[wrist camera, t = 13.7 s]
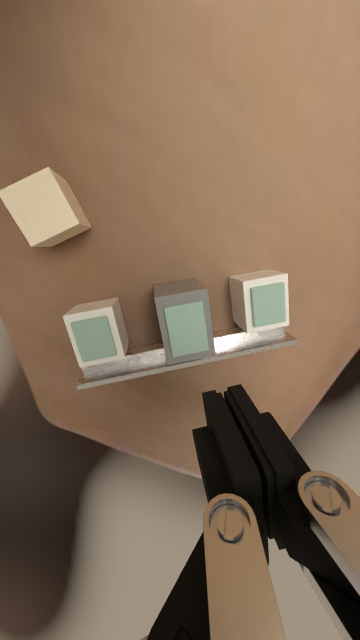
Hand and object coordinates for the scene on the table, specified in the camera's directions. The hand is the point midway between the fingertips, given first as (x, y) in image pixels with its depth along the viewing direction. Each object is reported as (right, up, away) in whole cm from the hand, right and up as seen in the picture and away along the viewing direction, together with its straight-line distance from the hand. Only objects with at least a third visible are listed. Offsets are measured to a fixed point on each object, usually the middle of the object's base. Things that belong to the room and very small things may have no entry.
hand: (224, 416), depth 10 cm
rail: (-1, +1, +22) cm, 22 cm away
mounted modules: (-2, +5, +21) cm, 21 cm away
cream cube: (-15, +16, +16) cm, 27 cm away
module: (-2, +6, +21) cm, 22 cm away
